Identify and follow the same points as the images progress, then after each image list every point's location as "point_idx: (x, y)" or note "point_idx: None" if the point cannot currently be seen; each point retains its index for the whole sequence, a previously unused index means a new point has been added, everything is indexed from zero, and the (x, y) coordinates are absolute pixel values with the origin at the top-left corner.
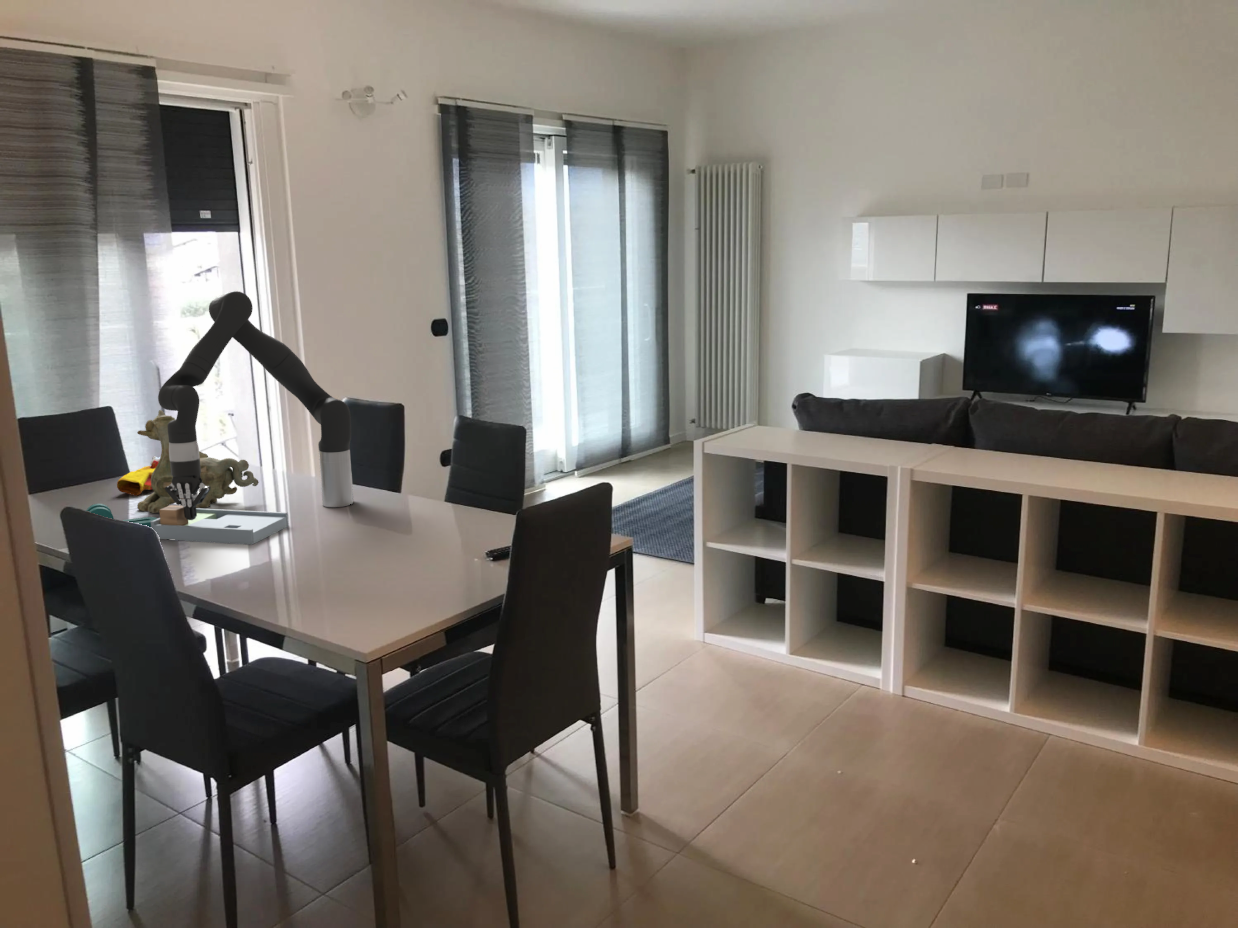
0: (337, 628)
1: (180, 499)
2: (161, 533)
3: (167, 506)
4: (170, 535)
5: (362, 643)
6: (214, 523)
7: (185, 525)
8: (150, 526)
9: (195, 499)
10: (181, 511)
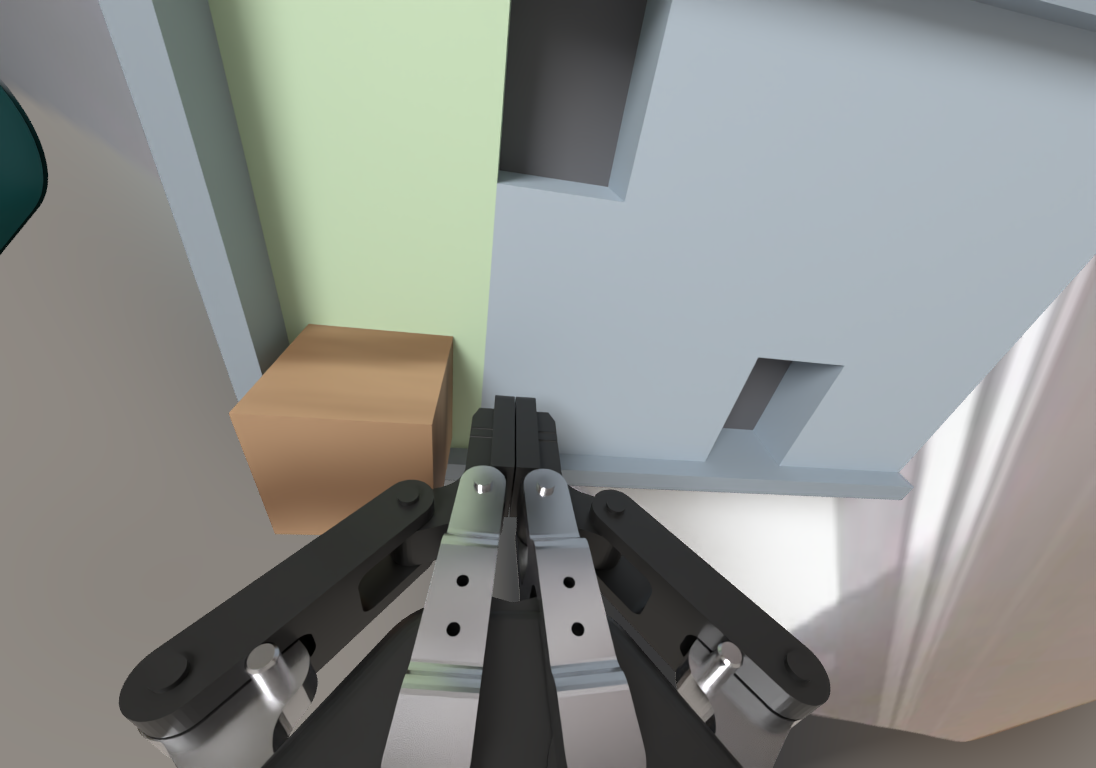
0: (952, 721)
1: (412, 553)
2: None
3: (244, 452)
4: None
5: (969, 734)
6: (649, 326)
7: (465, 384)
8: (22, 185)
9: (608, 592)
10: (437, 464)
